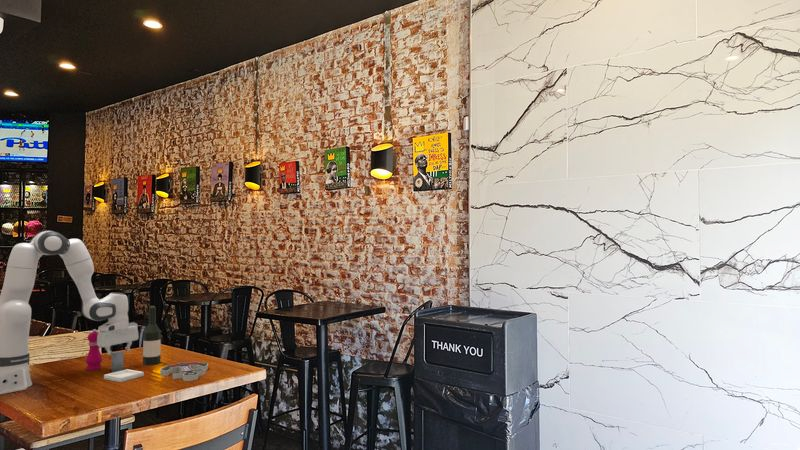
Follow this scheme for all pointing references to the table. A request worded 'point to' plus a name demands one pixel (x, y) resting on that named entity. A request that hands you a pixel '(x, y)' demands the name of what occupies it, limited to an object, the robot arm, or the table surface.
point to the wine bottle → (152, 340)
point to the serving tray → (123, 375)
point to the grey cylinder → (117, 361)
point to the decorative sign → (185, 370)
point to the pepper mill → (93, 352)
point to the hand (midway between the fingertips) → (118, 352)
